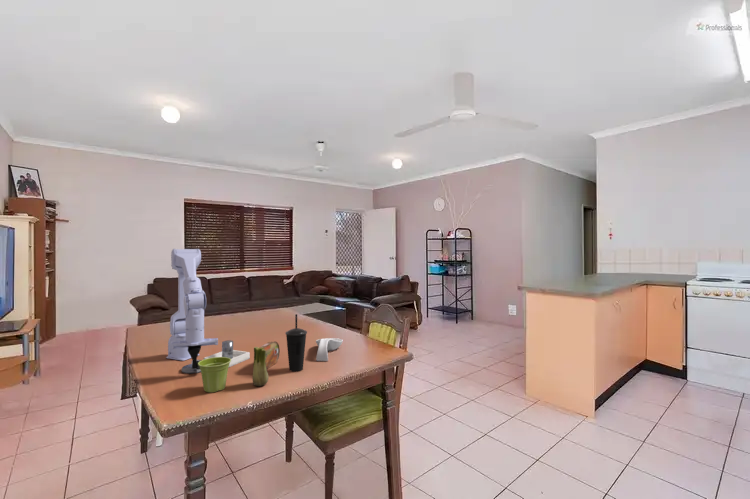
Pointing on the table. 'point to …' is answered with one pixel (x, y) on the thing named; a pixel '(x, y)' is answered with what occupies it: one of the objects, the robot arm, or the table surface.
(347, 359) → the table surface
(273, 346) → the tin
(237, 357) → the tray
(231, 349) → the cylinder
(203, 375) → the plant pot
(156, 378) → the table surface
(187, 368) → the crank base
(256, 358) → the fennel bulb
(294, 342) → the drinking cup
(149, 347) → the table surface
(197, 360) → the crank
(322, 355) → the spoon rest
